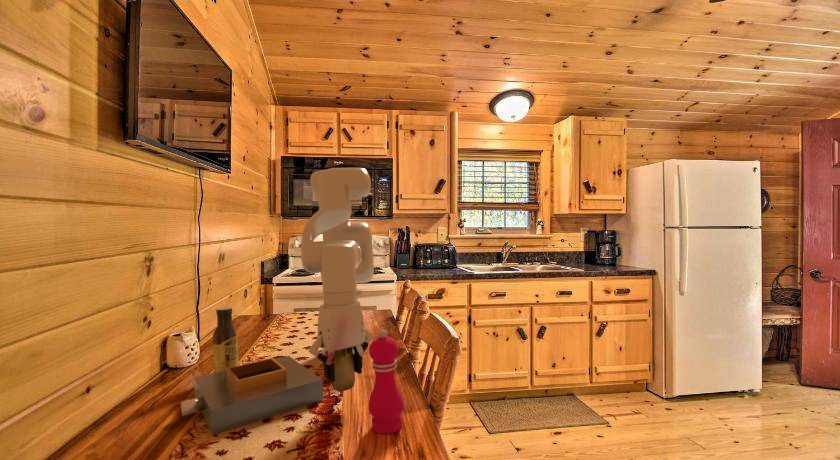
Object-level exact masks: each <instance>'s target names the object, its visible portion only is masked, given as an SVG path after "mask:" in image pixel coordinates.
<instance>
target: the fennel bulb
mask: <svg viewBox="0 0 840 460" xmlns="http://www.w3.org/2000/svg"><path fill="white" fill-rule="evenodd" d="M332 364H334V377H335V381H334V382H332V388H333V389H334V390H335V391H337V392H346V391H348V390H351V389H353V388H354V386H355V382H356V376H355V375H356V372H355V367H354V359H353V348H352V347H350V348H346V349H342V350H338V351H335V352H334V356H333V359H332Z"/></svg>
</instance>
